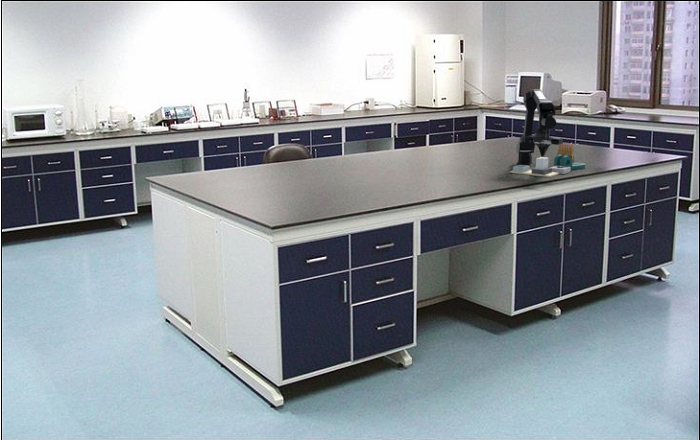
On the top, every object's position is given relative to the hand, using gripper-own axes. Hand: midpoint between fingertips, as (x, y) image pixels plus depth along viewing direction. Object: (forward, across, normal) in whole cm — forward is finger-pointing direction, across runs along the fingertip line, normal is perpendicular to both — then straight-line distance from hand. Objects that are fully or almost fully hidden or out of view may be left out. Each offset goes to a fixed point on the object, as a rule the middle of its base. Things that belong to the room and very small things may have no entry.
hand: (542, 156), depth 367 cm
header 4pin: (+9, 0, 0) cm, 9 cm away
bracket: (+10, +5, +25) cm, 27 cm away
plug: (+8, 0, 0) cm, 8 cm away
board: (+9, -4, 0) cm, 10 cm away
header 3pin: (+9, -11, 0) cm, 15 cm away
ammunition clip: (+9, -4, +38) cm, 39 cm away
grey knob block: (+9, +5, +11) cm, 15 cm away
